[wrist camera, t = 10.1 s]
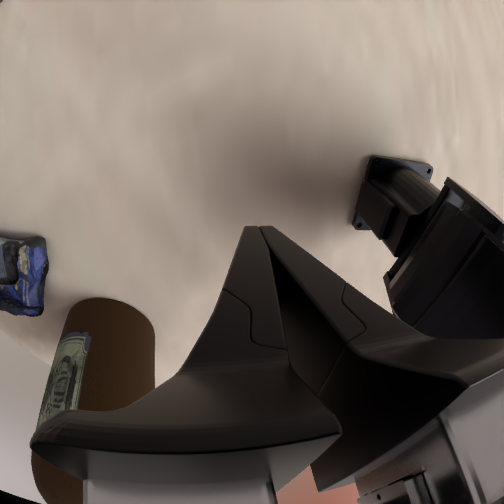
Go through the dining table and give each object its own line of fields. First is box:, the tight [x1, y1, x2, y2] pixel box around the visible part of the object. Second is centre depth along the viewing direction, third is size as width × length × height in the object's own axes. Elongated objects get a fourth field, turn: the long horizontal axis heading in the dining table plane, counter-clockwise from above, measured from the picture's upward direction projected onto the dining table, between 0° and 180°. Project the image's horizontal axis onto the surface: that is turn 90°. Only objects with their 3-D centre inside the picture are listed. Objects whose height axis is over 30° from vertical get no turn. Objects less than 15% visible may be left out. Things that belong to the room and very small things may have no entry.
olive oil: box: [31, 299, 155, 504], centre depth 19 cm, size 11×11×25 cm
